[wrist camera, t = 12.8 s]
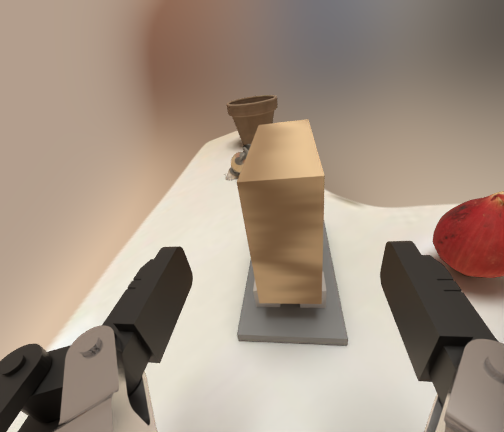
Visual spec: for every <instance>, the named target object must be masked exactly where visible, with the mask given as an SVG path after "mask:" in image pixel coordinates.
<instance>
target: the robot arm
mask: <svg viewBox="0 0 504 432" xmlns="http://www.w3.org/2000/svg"><path fill="white" fill-rule="evenodd" d="M380 278H381V285H382V288H383V291H384V293H385V296H386V298H387V301H388V304H389V306H390V309H391V311H392V314H393V317H394V319H395V322H396V324H397V327H398V329H399V332H400V335H401V337H402V340H403V342H404V345H405V348H406V350H407V353H408V355H409V358H410V360H411V363H412V366H413V368H414V371H415V373H416V376H417V379H418V381H428V382H433V385H434V387H435V389H436V392H437V395H436V397H435V400H434V403H433V406H432V409H431V412H430V415H429V418H428V421H427V424H426V427H425V430H424V432H504V344H502V343H500V342H498V341H497V339H496V338H495V337H494V335H493V334H492V333H491V331H490V330H489V328H488V327H487V326H486V324H485V323H484V321H483V320H482V318H481V317H480V316H479V314H478V313H477V311H476V310H475V309H474V307H473V306H472V304H471V303H470V302H469V300H468V299H467V297H466V296H465V294H464V293H462V292H461V289H460V287H459V286H458V285H457V283H456V282H454V281H453V278H452V276H451V275H450V273H449V272H448V270H447V269H446V268H445V266H444V265H442V264H441V263H440V262H438V261H437V260H436V259H434V258H433V257H432V256H430V255H421V254H420V252H419V250H418V249H417V247H416V246H415V244H414V243H413V242H412V241H389V242H387V243H386V246H385V251H384V256H383V261H382V266H381V272H380ZM192 280H193V276H192V271H191V268H190V266H189V263H188V261H187V258H186V255H185V253H184V250H183V248H182V247H163V248H161V249H160V251H159V252H158V254H157V255H156V257H155V258H154V259H151V260H150V261H149V262H147V263H146V264H145V265H144V266H143V267H142V268H140V270H139V271H138V273H137V274H136V276H135V277H134V280H133V281H132V282H131V283H130V285H129V286H128V289H127V290H126V291H125V292H124V294H123V295H122V297H121V298H120V300H119V301H118V303H117V304H116V305H115V307H114V308H113V310H112V311H111V313H110V314H109V316H108V317H107V319H106V320H105V322H104V323H103V325H102V326H97V327H94V328H92V329H90V330H88V331H86V332H85V333H83V334H82V335H81V336H79V337H78V338H77V339H76V340H75V341H74V342H73V344H72V345H71V346H67V347H63V348H60V349H56V350H53V351H49V352H46V351H45V350H44V349H43V348H42V347H41V346H40V345H38V344H28V345H25V346H23V347H20V348H18V349H16V350H15V351H13V352H11V353H10V354H8V355H7V356H6V357H5V358H4V359H2V360H1V361H0V432H6V431H7V430H8V428H9V427H10V425H11V424H12V423H13V421H14V420H15V418H16V417H17V415H18V414H19V412H20V411H22V412H24V413H25V414H27V415H28V417H27V419H26V420H25V422H24V423H23V425H22V426H21V428H20V429H19V431H18V432H158V431H157V428H156V424H155V419H154V413H153V408H152V403H151V398H150V393H149V387H148V382H147V377H146V373H145V372H144V370H145V368H146V366H147V364H148V362H151V363H160V362H161V359H162V357H163V354H164V352H165V349H166V347H167V345H168V342H169V340H170V337H171V335H172V332H173V330H174V327H175V325H176V323H177V320H178V318H179V315H180V313H181V310H182V308H183V305H184V303H185V301H186V298H187V296H188V293H189V291H190V288H191V286H192Z"/></svg>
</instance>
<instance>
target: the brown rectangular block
mask: <svg viewBox="0 0 504 432" xmlns="http://www.w3.org/2000/svg"><path fill="white" fill-rule="evenodd" d="M324 177H325V176H324V173H323V169H322V165H321V162H320V158H319V155H318V151H317V148H316V145H315V141H314V138H313V134H312V131H311V127H310V124H309V120H308V119H307V120H299V121H290V122H281V123H272V124H263V125H258V128H257V131H256V133H255V136H254V138H253V141H252V144H251V146H250V149H249V152H248V154H247V157H246V159H245V162H244V165H243V167H242V170H241V173H240V175H239V178H238V180H237V186H238V191H239V197H240V202H241V207H242V213H243V218H244V223H245V229H246V234H247V239H248V245H249V250H250V255H251V261H252V266H253V271H254V277H255V282H256V288H257V293H258V298H259V303H279V304H322V265H323V221H324Z"/></svg>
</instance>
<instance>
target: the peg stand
mask: <svg viewBox="0 0 504 432" xmlns="http://www.w3.org/2000/svg"><path fill="white" fill-rule="evenodd" d="M237 336H238V339H239V341H262V342H285V343H308V344H330V345H347V342H348V337H347V332H346V327H345V322H344V317H343V312H342V307H341V302H340V298H339V293H338V288H337V283H336V278H335V273H334V268H333V263H332V258H331V253H330V248H329V243H328V238H327V233H326V228H325V223H324V221H323V265H322V304H279V303H259V298H258V293H257V288H256V282H255V277H254V271H253V266H252V261H250V266H249V272H248V277H247V283H246V288H245V294H244V299H243V305H242V310H241V316H240V321H239V327H238V332H237Z"/></svg>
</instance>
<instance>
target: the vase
mask: <svg viewBox="0 0 504 432" xmlns="http://www.w3.org/2000/svg"><path fill="white" fill-rule="evenodd" d="M250 146H251V144H246V145H244V146H243V150H244V151H243V152H238V153H236V154H235V155H234V156H233V157H232V160H231V167H232V168H230V169H229V170H228V174H227V176H226V179H228V180H232V179H235V178H237V177H239V175H240V173H241V170H242V167H243V165H244V162H245V159H246V157H247V154H248V152H249V149H250ZM224 175H225V174H224Z"/></svg>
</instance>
